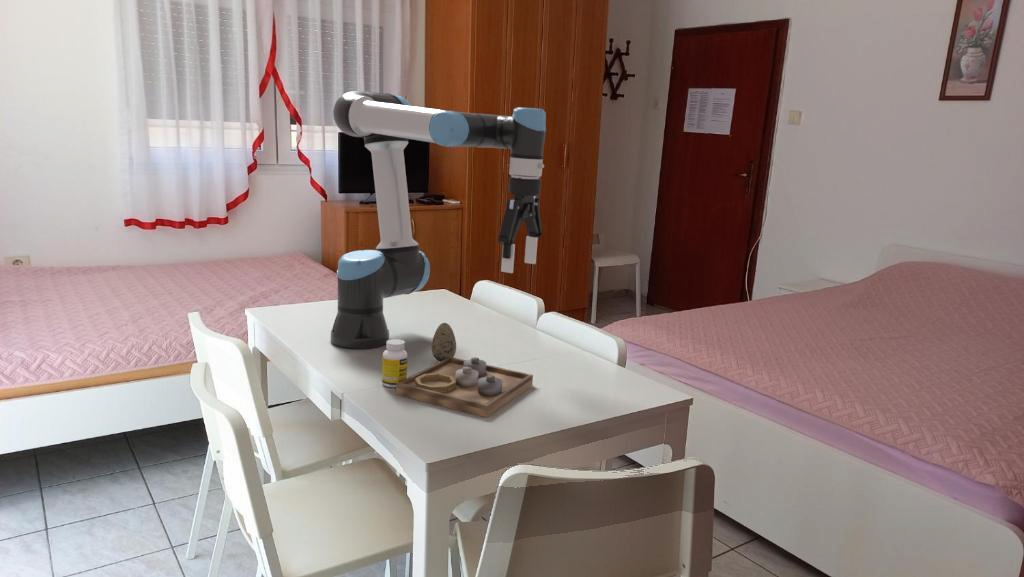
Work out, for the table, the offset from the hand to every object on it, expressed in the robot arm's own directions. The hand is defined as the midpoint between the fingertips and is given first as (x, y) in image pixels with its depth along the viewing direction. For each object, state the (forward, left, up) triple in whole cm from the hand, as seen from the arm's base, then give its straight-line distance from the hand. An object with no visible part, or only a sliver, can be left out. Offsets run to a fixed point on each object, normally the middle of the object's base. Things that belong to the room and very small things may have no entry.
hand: (518, 267), depth 166 cm
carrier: (-2, -20, -25) cm, 32 cm away
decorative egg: (-16, -7, -25) cm, 30 cm away
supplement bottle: (-17, -26, -25) cm, 40 cm away
